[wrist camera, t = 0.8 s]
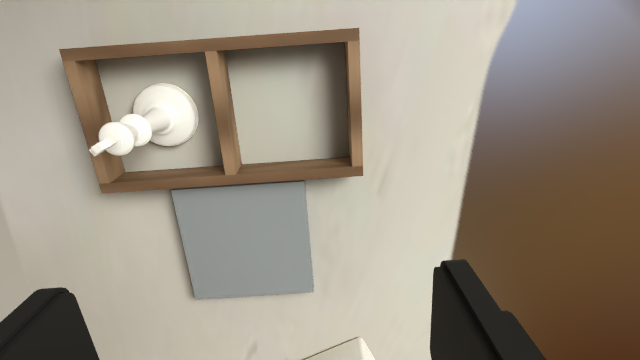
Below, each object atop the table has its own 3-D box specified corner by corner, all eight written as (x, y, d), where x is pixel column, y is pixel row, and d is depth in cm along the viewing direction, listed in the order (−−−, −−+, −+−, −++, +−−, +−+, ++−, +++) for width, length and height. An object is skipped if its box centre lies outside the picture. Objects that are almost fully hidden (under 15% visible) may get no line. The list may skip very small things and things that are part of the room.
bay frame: (81, 49, 27) (59, 49, 25) (355, 29, 27) (359, 27, 24) (118, 182, 31) (101, 193, 28) (359, 165, 31) (363, 175, 28)
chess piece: (122, 104, 29) (28, 133, 19) (171, 70, 28) (98, 83, 18) (163, 155, 30) (94, 206, 21) (211, 125, 29) (162, 163, 20)
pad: (175, 186, 31) (170, 190, 30) (304, 177, 31) (303, 181, 30) (198, 292, 35) (195, 299, 34) (313, 285, 35) (313, 292, 34)
